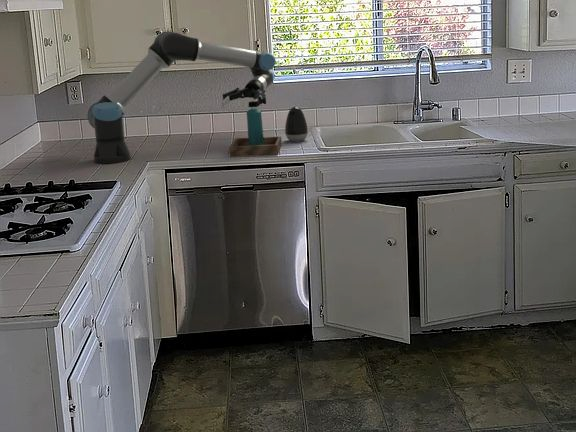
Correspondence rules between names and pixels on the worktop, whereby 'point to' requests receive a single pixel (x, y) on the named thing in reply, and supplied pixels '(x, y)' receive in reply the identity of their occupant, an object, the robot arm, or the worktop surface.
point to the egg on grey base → (296, 125)
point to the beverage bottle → (254, 125)
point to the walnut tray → (255, 147)
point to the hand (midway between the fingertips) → (237, 106)
